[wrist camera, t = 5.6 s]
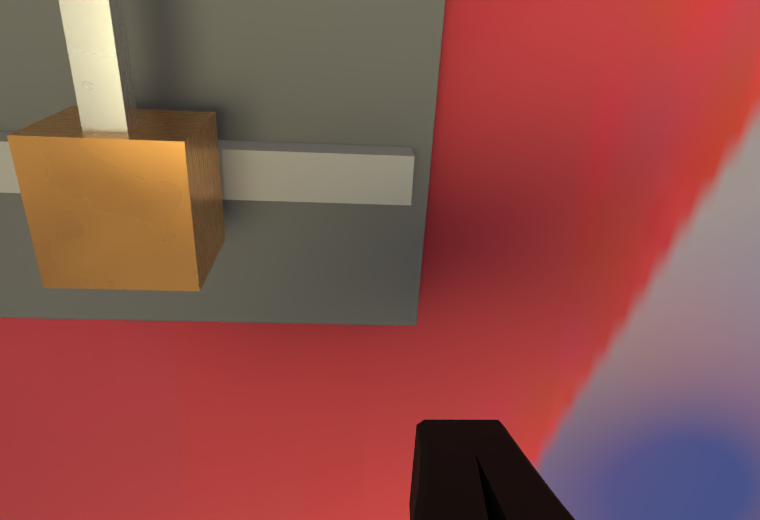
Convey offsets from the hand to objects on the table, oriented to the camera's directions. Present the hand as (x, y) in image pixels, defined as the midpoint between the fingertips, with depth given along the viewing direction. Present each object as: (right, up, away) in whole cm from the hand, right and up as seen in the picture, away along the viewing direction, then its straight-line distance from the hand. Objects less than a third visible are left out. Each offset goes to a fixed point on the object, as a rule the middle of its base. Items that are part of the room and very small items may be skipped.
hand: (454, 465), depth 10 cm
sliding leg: (-6, +8, +3) cm, 10 cm away
